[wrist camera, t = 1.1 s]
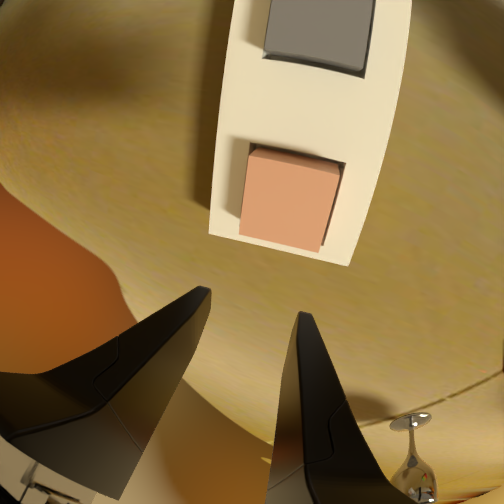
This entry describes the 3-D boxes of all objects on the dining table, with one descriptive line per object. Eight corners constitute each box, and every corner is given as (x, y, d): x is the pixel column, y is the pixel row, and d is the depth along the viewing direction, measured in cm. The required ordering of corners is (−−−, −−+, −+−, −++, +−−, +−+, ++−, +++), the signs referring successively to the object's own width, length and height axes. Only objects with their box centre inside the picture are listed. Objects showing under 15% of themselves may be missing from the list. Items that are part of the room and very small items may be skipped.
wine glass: (429, 427, 34) (431, 504, 22) (385, 434, 37) (381, 513, 25) (438, 407, 31) (444, 496, 18) (389, 416, 33) (386, 507, 21)
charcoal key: (367, 1, 10) (373, -12, 8) (356, 71, 13) (363, 68, 11) (282, -14, 11) (276, -29, 9) (271, 55, 14) (264, 49, 12)
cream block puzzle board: (402, -89, 5) (409, -105, 3) (345, 246, 21) (348, 266, 19) (271, -112, 6) (264, -128, 4) (221, 217, 23) (208, 233, 20)
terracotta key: (337, 164, 16) (339, 175, 14) (319, 234, 19) (318, 253, 17) (258, 147, 17) (248, 155, 15) (248, 217, 20) (238, 234, 18)
